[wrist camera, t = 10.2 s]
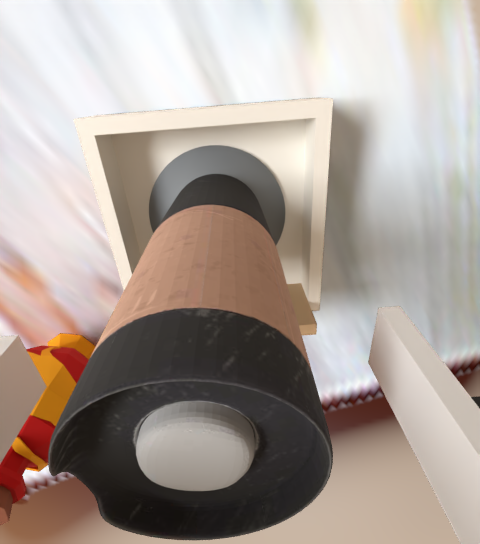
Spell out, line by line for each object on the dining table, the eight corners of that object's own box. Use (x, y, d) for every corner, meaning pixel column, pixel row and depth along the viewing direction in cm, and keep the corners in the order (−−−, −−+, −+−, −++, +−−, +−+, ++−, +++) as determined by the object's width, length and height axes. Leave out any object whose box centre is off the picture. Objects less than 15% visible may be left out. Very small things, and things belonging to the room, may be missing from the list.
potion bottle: (137, 376, 36) (85, 537, 23) (53, 392, 37) (-44, 556, 24) (96, 301, 31) (-2, 454, 18) (-1, 322, 32) (-161, 482, 19)
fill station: (96, 115, 23) (49, 123, 17) (317, 97, 23) (349, 99, 17) (144, 298, 31) (123, 348, 25) (309, 285, 31) (328, 333, 25)
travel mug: (281, 195, 25) (402, 429, 8) (239, 272, 28) (256, 558, 11) (190, 151, 23) (77, 325, 6) (156, 238, 27) (19, 517, 9)
